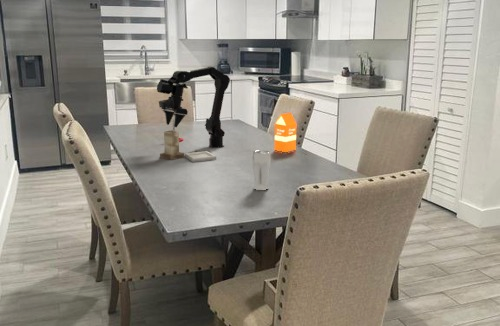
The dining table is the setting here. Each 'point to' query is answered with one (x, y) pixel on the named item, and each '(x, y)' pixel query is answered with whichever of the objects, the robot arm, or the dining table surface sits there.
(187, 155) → the tray
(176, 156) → the walnut collar
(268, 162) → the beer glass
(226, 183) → the dining table surface
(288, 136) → the orange juice
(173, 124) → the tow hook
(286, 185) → the dining table surface
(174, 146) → the tan wooden block
